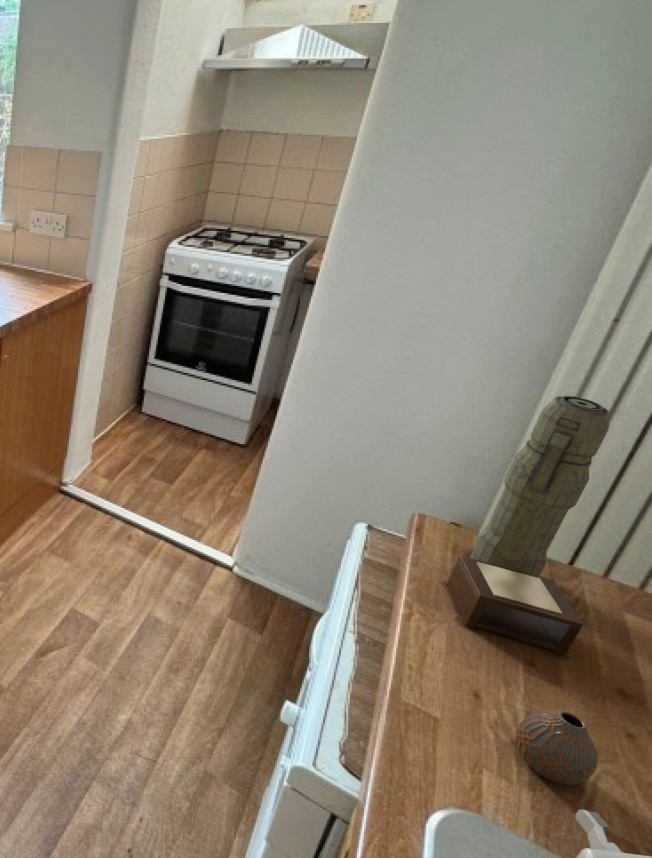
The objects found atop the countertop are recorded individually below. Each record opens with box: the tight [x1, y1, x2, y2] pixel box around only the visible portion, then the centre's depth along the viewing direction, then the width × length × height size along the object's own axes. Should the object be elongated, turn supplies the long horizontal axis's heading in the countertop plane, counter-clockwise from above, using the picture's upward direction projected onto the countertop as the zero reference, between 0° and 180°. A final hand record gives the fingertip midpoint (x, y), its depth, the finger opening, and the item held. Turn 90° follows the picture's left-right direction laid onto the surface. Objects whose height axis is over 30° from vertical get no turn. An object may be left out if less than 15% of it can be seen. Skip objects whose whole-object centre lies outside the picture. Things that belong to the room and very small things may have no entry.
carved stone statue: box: [469, 395, 610, 576], centre depth 102 cm, size 9×12×35 cm
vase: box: [514, 710, 599, 786], centre depth 76 cm, size 7×7×9 cm
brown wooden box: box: [446, 554, 584, 657], centre depth 98 cm, size 12×10×7 cm
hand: (630, 818), depth 67 cm, fingers open, 8 cm apart
